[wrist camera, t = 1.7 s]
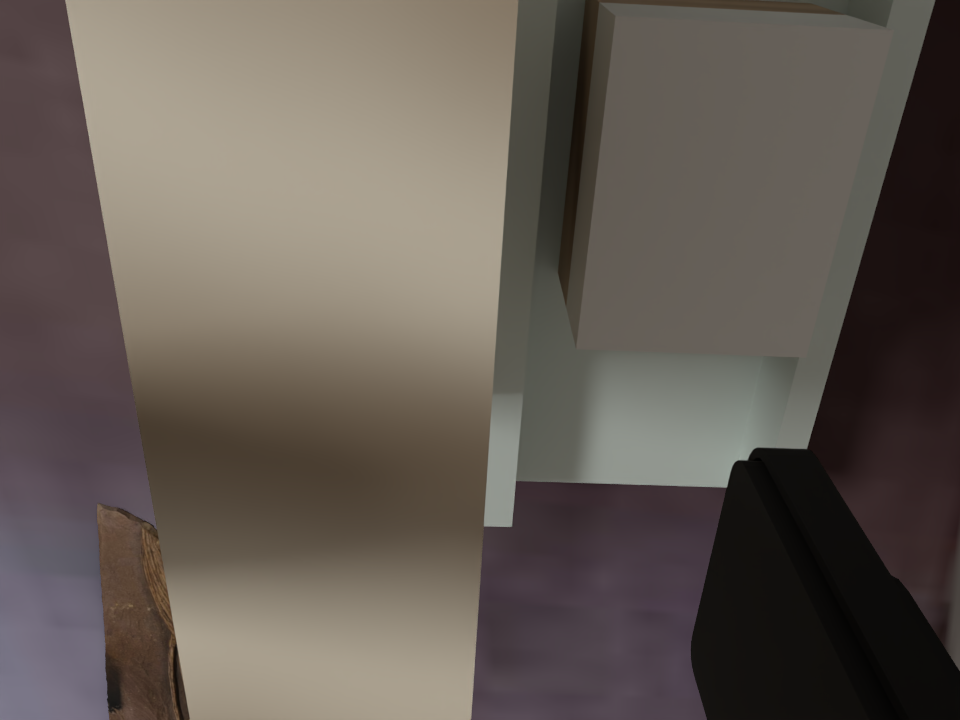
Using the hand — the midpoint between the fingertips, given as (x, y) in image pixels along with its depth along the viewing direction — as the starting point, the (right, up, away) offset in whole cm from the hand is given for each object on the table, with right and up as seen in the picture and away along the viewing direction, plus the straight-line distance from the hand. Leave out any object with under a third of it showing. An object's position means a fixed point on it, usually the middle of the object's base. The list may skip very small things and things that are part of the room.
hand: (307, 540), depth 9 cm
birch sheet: (0, +8, +15) cm, 17 cm away
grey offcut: (+8, +7, +13) cm, 16 cm away
